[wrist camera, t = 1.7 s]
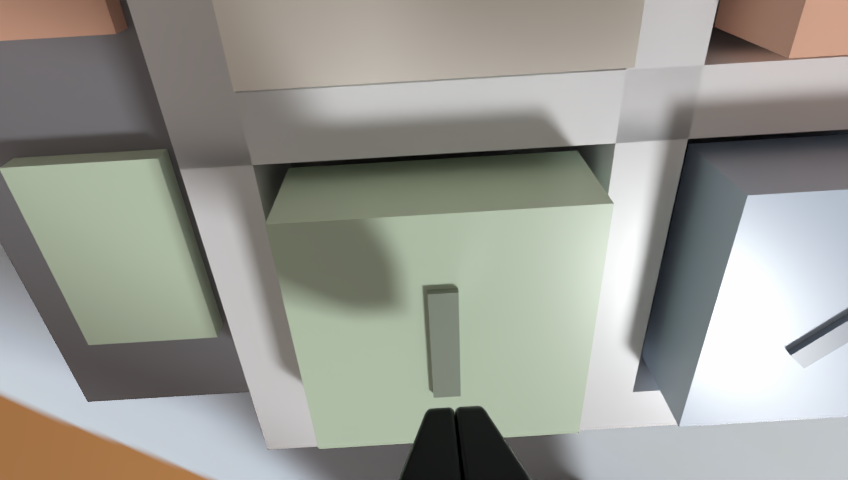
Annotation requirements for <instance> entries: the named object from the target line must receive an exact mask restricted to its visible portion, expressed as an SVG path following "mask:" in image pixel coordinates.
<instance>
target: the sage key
mask: <svg viewBox="0 0 848 480" xmlns="http://www.w3.org/2000/svg"><path fill="white" fill-rule="evenodd" d="M613 206H614V203H613V201H612V200H611V199H610V197H609V196H608V194H607V193H606V191H605V190H604V188H603V187H602V185H601V184H600V183H599V181H598V180H597V178H596V177H595V175H594V174H593V172H592V171H591V169H590V168H589V167H588V165H587V164H586V162H585V161H584V159H583V158H582V156H581V155H580V153H579V152H578V151H562V152H546V153H529V154H512V155H496V156H479V157H462V158H446V159H429V160H413V161H396V162H379V163H363V164H346V165H329V166H313V167H296V168H288V171H287V173H286V175H285V178H284V180H283V183H282V185H281V187H280V190H279V192H278V195H277V197H276V200H275V202H274V204H273V207H272V209H271V212H270V214H269V216H268V219H267V221H266V224H265V226H266V230H267V235H268V239H269V243H270V247H271V251H272V256H273V260H274V264H275V268H276V273H277V277H278V281H279V285H280V289H281V294H282V298H283V302H284V306H285V310H286V315H287V319H288V323H289V327H290V331H291V336H292V340H293V344H294V348H295V353H296V357H297V361H298V365H299V369H300V374H301V378H302V382H303V386H304V390H305V395H306V399H307V403H308V407H309V411H310V416H311V420H312V424H313V428H314V433H315V437H316V441H317V445H318V449H327V448H343V447H359V446H375V445H392V444H408V443H413V442H414V440H415V437H416V435H417V432H418V430H419V427H420V425H421V422H422V419H423V417H424V415H425V413H426V411H427V410H428V409H431V408H447V407H450V408H452V409H453V410H454V411H455V410H456V409H457V408H458V407H464V406H481V407H483V408H484V409H485V410H486V412H487V413H488V415H489V416H490V418H491V419H492V421H493V422H494V424H495V425H496V427H497V428H498V430H499V431H500V433H501V434H502V436H503V437H504V438H506V437H522V436H538V435H555V434H571V433H579V429H580V422H581V416H582V409H583V403H584V396H585V389H586V383H587V376H588V370H589V363H590V357H591V350H592V344H593V337H594V331H595V324H596V317H597V311H598V304H599V298H600V291H601V285H602V278H603V272H604V265H605V259H606V252H607V246H608V239H609V232H610V226H611V219H612V213H613Z"/></svg>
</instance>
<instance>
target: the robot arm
mask: <svg viewBox="0 0 848 480" xmlns="http://www.w3.org/2000/svg"><path fill="white" fill-rule="evenodd" d="M399 480H531V479H530V477H529V475H528V474H527V472H526V471H525V469H524V468H523V466H522V465H521V463H520V462H519V460H518V459H517V457H516V456H515V454H514V453H513V451H512V450H511V448H510V447H509V445H508V444H507V442H506V440H505V439H504V437H503V436H502V434H501V433H500V431H499V430H498V428H497V427H496V425H495V424H494V422H493V421H492V419H491V418H490V416H489V415H488V413H487V412H486V410H485V409H484V408H483V407H481V406H464V407H458V408H457V409H456V410H455V411H454V410H453V409H452V408H450V407H447V408H431V409H428V410H427V411H426V413H425V415H424V417H423V419H422V422H421V425H420V427H419V430H418V432H417V435H416V437H415V440H414V442H413V445H412V447H411V450H410V453H409V455H408V458H407V460H406V463H405V465H404V468H403V470H402V473H401V475H400V478H399Z"/></svg>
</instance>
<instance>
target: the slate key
mask: <svg viewBox="0 0 848 480" xmlns="http://www.w3.org/2000/svg"><path fill="white" fill-rule="evenodd" d="M642 357H643V359H644V361H645V363H646V365H647V367H648V369H649V370H650V372H651V374H652V376H653V378H654V380H655V382H656V384H657V386H658V388H659V390H660V392H661V394H662V395H663V397H664V399H665V401H666V403H667V405H668V407H669V409H670V411H671V413H672V415H673V417H674V419H675V420H676V422H677V424H678V426H679V427H685V426H701V425H718V424H734V423H750V422H767V421H783V420H799V419H816V418H832V417H848V134H845V135H828V136H811V137H795V138H778V139H762V140H745V141H728V142H712V143H695V144H688V148H687V153H686V158H685V162H684V167H683V171H682V176H681V180H680V185H679V189H678V194H677V198H676V203H675V207H674V212H673V216H672V221H671V226H670V230H669V235H668V239H667V244H666V248H665V253H664V257H663V262H662V266H661V271H660V275H659V280H658V284H657V289H656V294H655V298H654V303H653V307H652V312H651V316H650V321H649V325H648V330H647V334H646V339H645V343H644V348H643V352H642Z"/></svg>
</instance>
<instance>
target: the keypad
mask: <svg viewBox="0 0 848 480" xmlns="http://www.w3.org/2000/svg"><path fill="white" fill-rule="evenodd" d="M719 3H720V0H645V3H644V10H643V16H642V23H641V30H640V36H639V43H638V49H637V56H636V62H635V68H619V69H603V70H586V71H569V72H553V73H536V74H519V75H503V76H486V77H469V78H452V79H436V80H419V81H402V82H386V83H369V84H352V85H335V86H319V87H302V88H285V89H269V90H252V91H235V92H234V91H233V87H232V83H231V79H230V75H229V70H228V66H227V62H226V58H225V54H224V49H223V45H222V41H221V37H220V32H219V28H218V24H217V20H216V16H215V11H214V7H213V3H212V0H0V242H1V244H2V246H3V248H4V249H5V251H6V253H7V255H8V257H9V259H10V260H11V262H12V264H13V266H14V268H15V270H16V271H17V273H18V275H19V277H20V279H21V281H22V282H23V284H24V286H25V288H26V290H27V291H28V293H29V295H30V297H31V299H32V301H33V302H34V304H35V306H36V308H37V310H38V312H39V313H40V315H41V317H42V319H43V321H44V323H45V324H46V326H47V328H48V330H49V332H50V334H51V335H52V337H53V339H54V341H55V343H56V344H57V346H58V348H59V350H60V352H61V354H62V355H63V357H64V359H65V361H66V363H67V365H68V366H69V368H70V370H71V372H72V374H73V376H74V377H75V379H76V381H77V383H78V385H79V387H80V388H81V390H82V392H83V394H84V396H85V397H86V399H87V401H88V402H92V401H108V400H125V399H141V398H157V397H174V396H190V395H206V394H223V393H239V392H250V394H251V398H252V401H253V404H254V407H255V410H256V414H257V417H258V420H259V423H260V426H261V429H262V433H263V436H264V439H265V442H266V445H267V449H268V450H270V449H286V448H302V447H318V445H317V441H316V437H315V433H314V428H313V424H312V420H311V416H310V411H309V407H308V403H307V399H306V395H305V390H304V386H303V382H302V378H301V374H300V369H299V365H298V361H297V357H296V353H295V348H294V344H293V340H292V336H291V331H290V327H289V323H288V319H287V315H286V310H285V306H284V302H283V298H282V294H281V289H280V285H279V281H278V277H277V273H276V268H275V264H274V260H273V256H272V251H271V247H270V243H269V239H268V235H267V230H266V226H265V224H266V221H267V219H268V216H269V214H270V212H271V209H272V207H273V204H274V202H275V200H276V197H277V195H278V192H279V190H280V187H281V185H282V183H283V180H284V178H285V175H286V173H287V171H288V168H296V167H313V166H329V165H346V164H363V163H379V162H396V161H413V160H429V159H446V158H462V157H479V156H496V155H512V154H529V153H546V152H562V151H578V152H579V153H580V155H581V156H582V158H583V159H584V161H585V162H586V164H587V165H588V167H589V168H590V169H591V171H592V172H593V174H594V175H595V177H596V178H597V180H598V181H599V183H600V184H601V185H602V187H603V188H604V190H605V191H606V193H607V194H608V196H609V197H610V199H611V200H612V201H613V203H614V206H613V213H612V219H611V226H610V232H609V239H608V246H607V252H606V259H605V265H604V272H603V278H602V285H601V291H600V298H599V304H598V311H597V317H596V324H595V331H594V337H593V344H592V350H591V357H590V363H589V370H588V376H587V383H586V389H585V396H584V403H583V409H582V416H581V422H580V429H579V431H580V430H596V429H612V428H628V427H645V426H661V425H677V422H676V420H675V419H674V417H673V415H672V413H671V411H670V409H669V407H668V405H667V403H666V401H665V399H664V397H663V395H662V394H661V392H660V390H659V388H658V386H657V384H656V382H655V380H654V378H653V376H652V374H651V372H650V370H649V369H648V367H647V365H646V363H645V361H644V359H643V357H642V352H643V348H644V343H645V339H646V334H647V330H648V325H649V321H650V316H651V312H652V307H653V303H654V298H655V294H656V289H657V284H658V280H659V275H660V271H661V266H662V262H663V257H664V253H665V248H666V244H667V239H668V235H669V230H670V226H671V221H672V216H673V212H674V207H675V203H676V198H677V194H678V189H679V185H680V180H681V176H682V171H683V167H684V162H685V158H686V153H687V148H688V144H695V143H712V142H728V141H745V140H762V139H778V138H795V137H811V136H828V135H845V134H848V55H837V56H820V57H803V58H787V57H784V56H782V55H779V54H777V53H775V52H772V51H770V50H768V49H765V48H763V47H761V46H758V45H756V44H753V43H751V42H749V41H746V40H744V39H742V38H739V37H737V36H735V35H732V34H730V33H727V32H725V31H723V30H720V29H718V28H716V27H714V26H715V22H716V17H717V12H718V8H719Z"/></svg>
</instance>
